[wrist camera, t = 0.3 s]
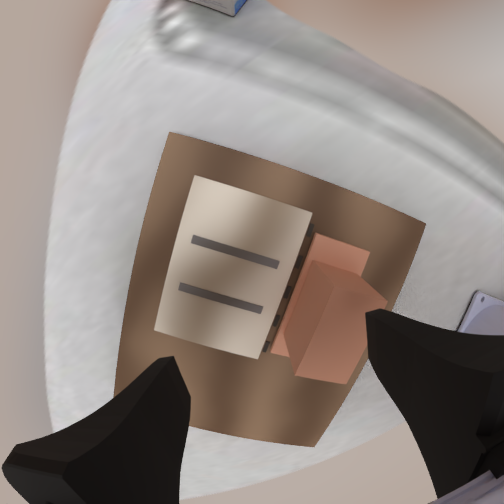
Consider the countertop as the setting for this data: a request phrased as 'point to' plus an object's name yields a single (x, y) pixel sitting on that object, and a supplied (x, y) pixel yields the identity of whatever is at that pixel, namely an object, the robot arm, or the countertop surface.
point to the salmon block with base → (328, 312)
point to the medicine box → (222, 5)
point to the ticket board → (245, 284)
